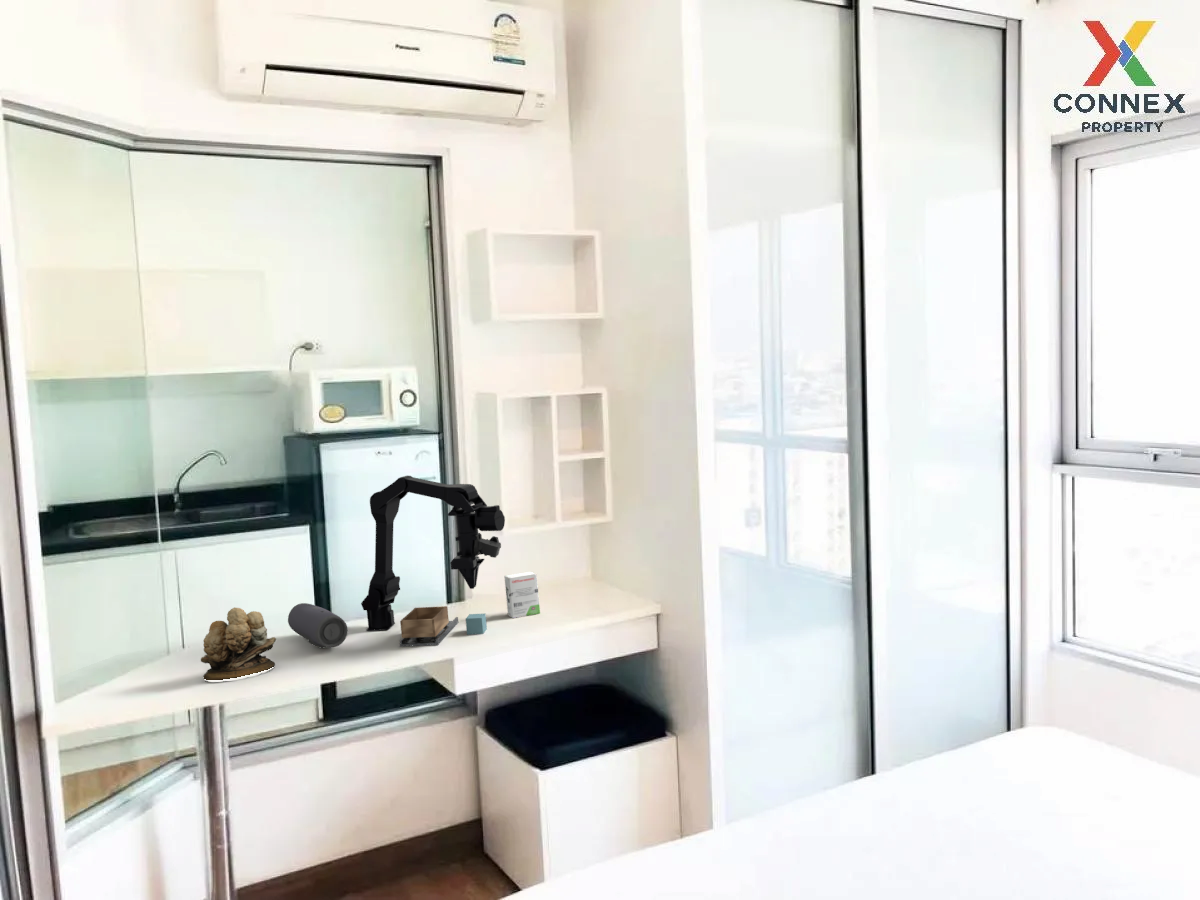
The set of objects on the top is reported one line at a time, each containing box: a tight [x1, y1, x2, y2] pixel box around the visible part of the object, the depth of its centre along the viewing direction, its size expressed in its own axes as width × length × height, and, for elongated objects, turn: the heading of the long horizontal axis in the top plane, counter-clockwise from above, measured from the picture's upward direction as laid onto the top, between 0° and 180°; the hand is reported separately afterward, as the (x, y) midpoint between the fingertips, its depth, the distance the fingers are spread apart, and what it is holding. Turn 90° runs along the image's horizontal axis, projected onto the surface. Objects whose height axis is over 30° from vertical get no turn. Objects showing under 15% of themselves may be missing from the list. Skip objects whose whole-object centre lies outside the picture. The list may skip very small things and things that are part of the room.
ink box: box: [504, 571, 541, 619], centre depth 278 cm, size 9×5×12 cm, turn 112°
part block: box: [465, 613, 488, 635], centre depth 264 cm, size 4×4×4 cm
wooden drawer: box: [399, 605, 450, 641], centre depth 261 cm, size 9×13×6 cm
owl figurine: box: [200, 607, 277, 680], centre depth 242 cm, size 18×12×17 cm, turn 117°
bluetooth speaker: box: [287, 602, 349, 649], centre depth 264 cm, size 23×9×10 cm, turn 37°
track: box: [399, 616, 459, 647], centre depth 265 cm, size 10×21×2 cm, turn 174°
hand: (473, 587), depth 263 cm, fingers closed
